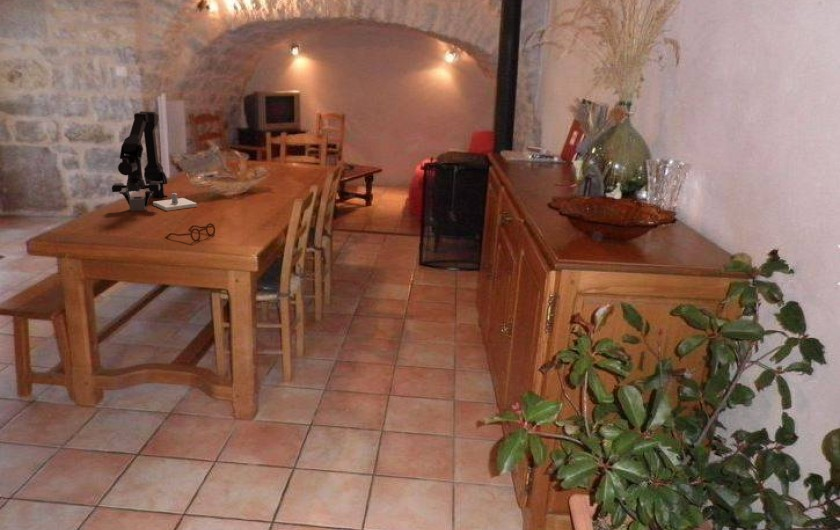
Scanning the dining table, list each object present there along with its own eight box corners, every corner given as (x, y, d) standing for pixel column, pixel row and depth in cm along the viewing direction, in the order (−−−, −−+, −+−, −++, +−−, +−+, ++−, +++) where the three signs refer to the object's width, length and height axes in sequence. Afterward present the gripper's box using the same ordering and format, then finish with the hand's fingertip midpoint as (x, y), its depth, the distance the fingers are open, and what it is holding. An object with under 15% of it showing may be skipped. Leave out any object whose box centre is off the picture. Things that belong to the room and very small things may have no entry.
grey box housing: (130, 210, 274) (128, 199, 272) (132, 207, 279) (131, 196, 277) (145, 210, 275) (143, 198, 273) (147, 207, 281) (145, 195, 279)
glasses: (193, 243, 232) (191, 230, 231) (164, 238, 237) (163, 225, 235) (216, 235, 244) (215, 222, 243) (189, 230, 249) (187, 218, 247)
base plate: (153, 205, 285) (151, 192, 283) (183, 201, 294) (182, 189, 293) (166, 210, 276) (165, 198, 274) (197, 206, 285) (196, 194, 283)
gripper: (107, 174, 262) (111, 211, 267) (155, 174, 267) (158, 210, 272) (112, 170, 272) (116, 205, 277) (158, 169, 277) (162, 204, 282)
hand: (138, 206), depth 277 cm, fingers closed on grey box housing, 6 cm apart
